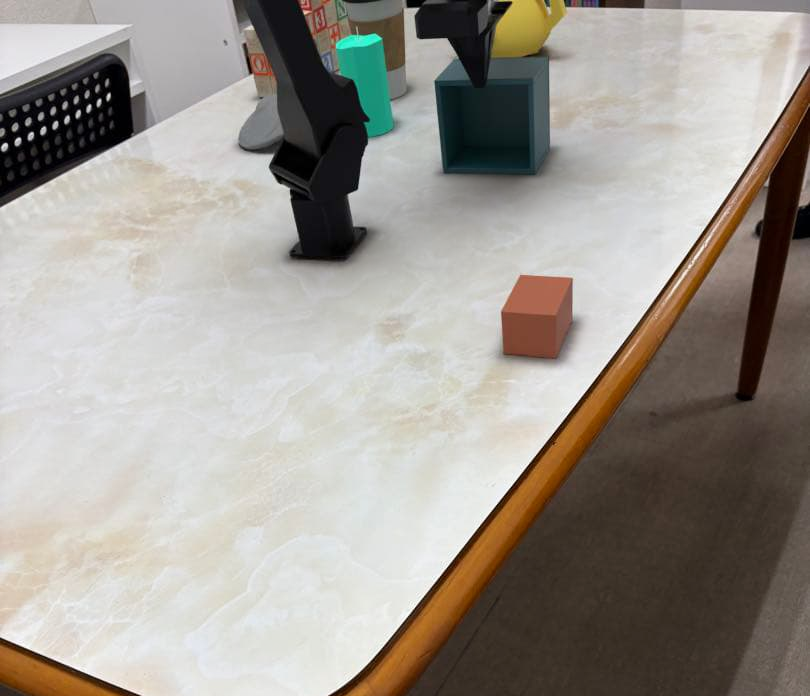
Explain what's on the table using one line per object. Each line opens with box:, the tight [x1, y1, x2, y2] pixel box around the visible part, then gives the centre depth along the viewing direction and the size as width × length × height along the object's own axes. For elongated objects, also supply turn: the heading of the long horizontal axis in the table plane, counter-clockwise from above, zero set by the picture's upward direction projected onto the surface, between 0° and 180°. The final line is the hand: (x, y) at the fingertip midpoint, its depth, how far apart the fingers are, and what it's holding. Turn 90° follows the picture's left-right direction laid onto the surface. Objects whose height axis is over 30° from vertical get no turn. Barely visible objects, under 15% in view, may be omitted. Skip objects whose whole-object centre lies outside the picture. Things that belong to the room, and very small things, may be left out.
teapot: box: [491, 0, 568, 58], centre depth 123 cm, size 20×18×11 cm
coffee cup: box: [342, 0, 408, 100], centre depth 117 cm, size 8×8×15 cm
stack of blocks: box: [243, 0, 351, 98], centre depth 129 cm, size 21×6×12 cm, turn 151°
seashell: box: [237, 94, 284, 151], centre depth 114 cm, size 12×6×10 cm
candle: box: [336, 27, 395, 138], centre depth 109 cm, size 6×6×12 cm
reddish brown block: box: [500, 274, 574, 359], centre depth 71 cm, size 6×4×4 cm
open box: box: [433, 55, 551, 175], centre depth 97 cm, size 7×11×10 cm, turn 70°
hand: (480, 87), depth 91 cm, fingers closed
